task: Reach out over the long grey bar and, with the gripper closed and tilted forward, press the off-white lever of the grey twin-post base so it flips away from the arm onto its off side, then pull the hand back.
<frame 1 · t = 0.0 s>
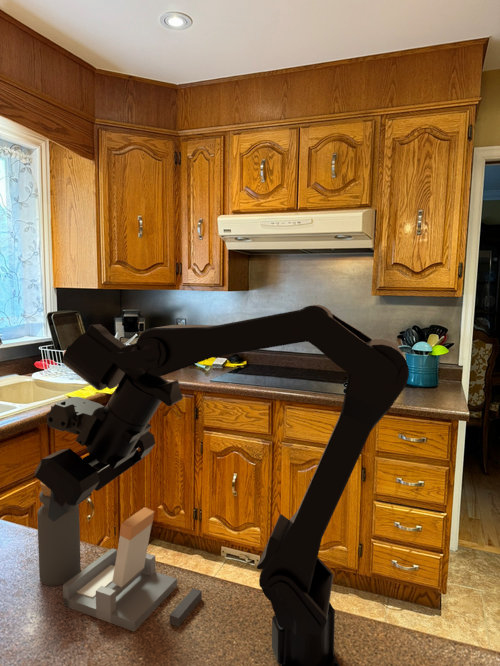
hand: (74, 502, 62), 15 cm above the countertop, tool tilted 35°, fingers open, 9 cm apart
bottle: (60, 575, 70), on the countertop
long grey bar: (186, 610, 62), on the countertop
grey twin-post base: (127, 597, 65), on the countertop
lever: (132, 551, 64), point 7 cm above the countertop, hinge at -12.0°
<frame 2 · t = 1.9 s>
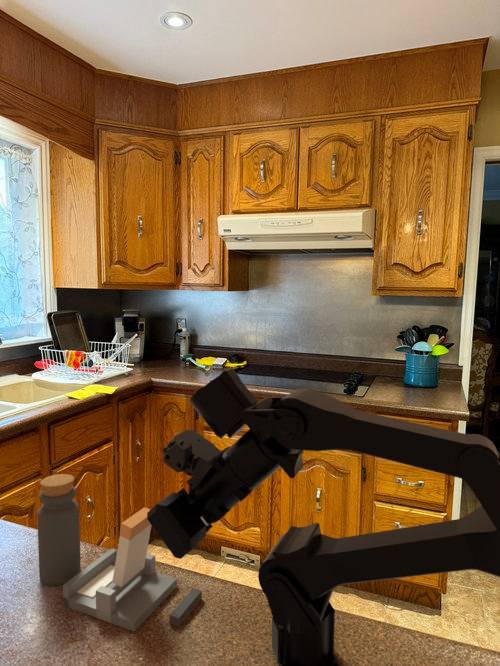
hand: (169, 532, 61), 11 cm above the countertop, tool tilted 45°, fingers closed
nothing on the countertop moved.
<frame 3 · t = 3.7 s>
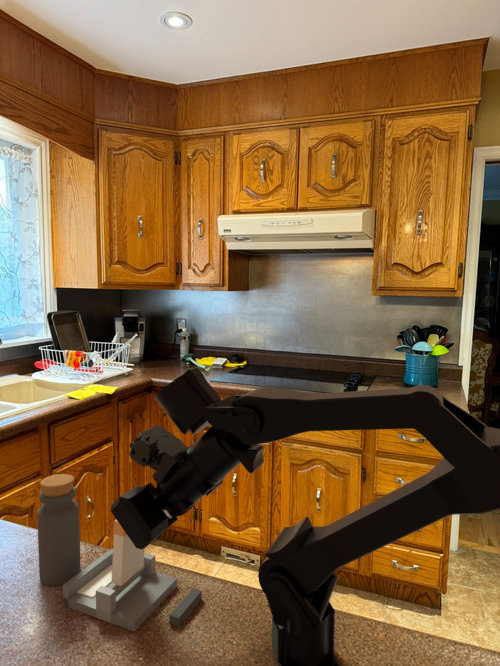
hand: (137, 525, 64), 11 cm above the countertop, tool tilted 45°, fingers closed, pressing on lever
lever: (129, 549, 64), point 7 cm above the countertop, hinge at -4.8°, touching gripper
everything else where it was.
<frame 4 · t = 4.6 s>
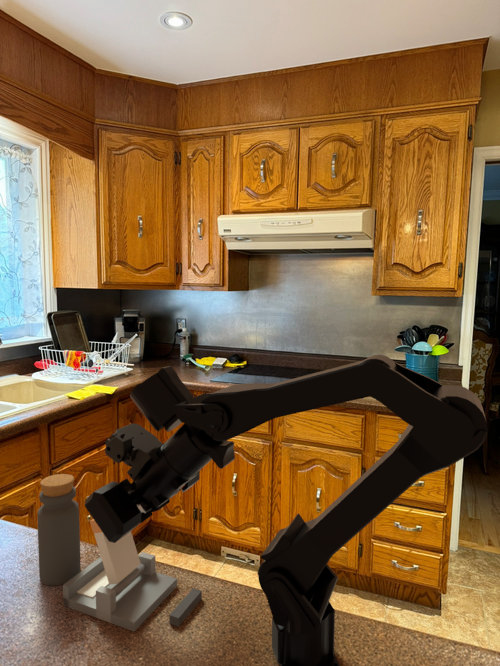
hand: (115, 520, 65), 11 cm above the countertop, tool tilted 45°, fingers closed, pressing on lever
lever: (117, 548, 65), point 7 cm above the countertop, hinge at 20.1°, touching gripper
everything else where it was.
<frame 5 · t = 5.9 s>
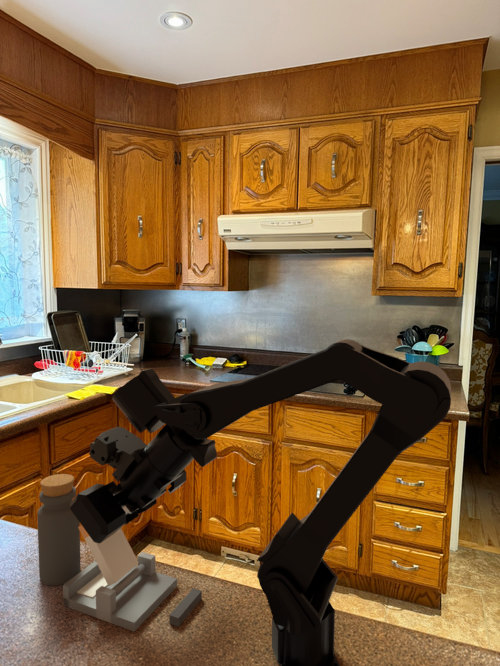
hand: (103, 523, 66), 10 cm above the countertop, tool tilted 45°, fingers closed, pressing on lever
lever: (111, 550, 66), point 6 cm above the countertop, hinge at 34.6°, touching gripper
everything else where it was.
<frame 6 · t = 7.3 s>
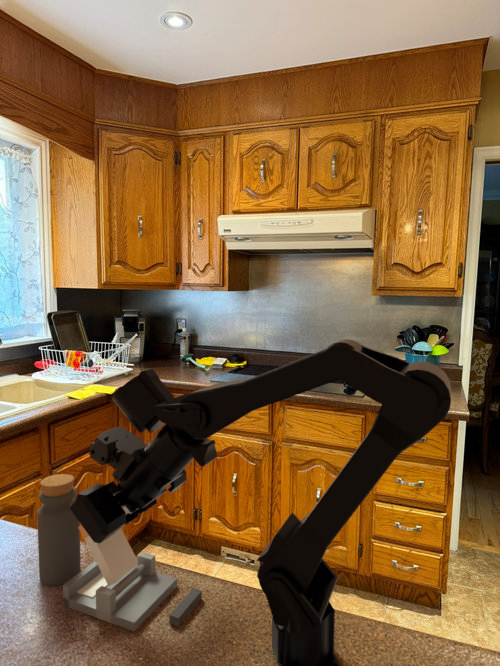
hand: (103, 523, 66), 10 cm above the countertop, tool tilted 45°, fingers closed, pressing on lever
lever: (111, 550, 66), point 6 cm above the countertop, hinge at 34.7°, touching gripper
everything else where it was.
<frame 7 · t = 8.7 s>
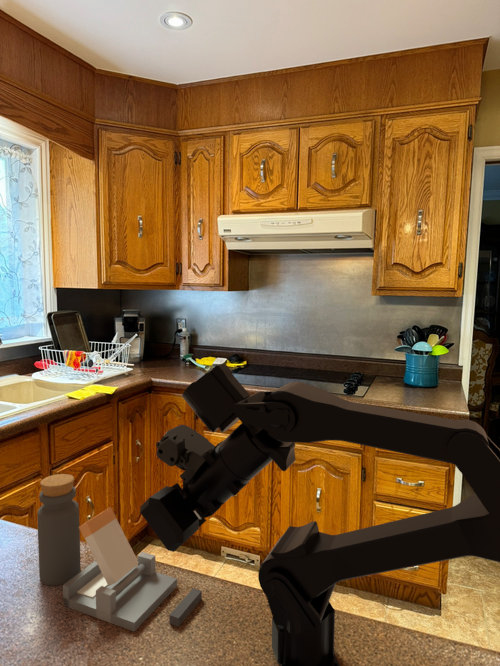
hand: (163, 527, 62), 12 cm above the countertop, tool tilted 45°, fingers closed
lever: (112, 550, 66), point 6 cm above the countertop, hinge at 34.1°
everything else where it was.
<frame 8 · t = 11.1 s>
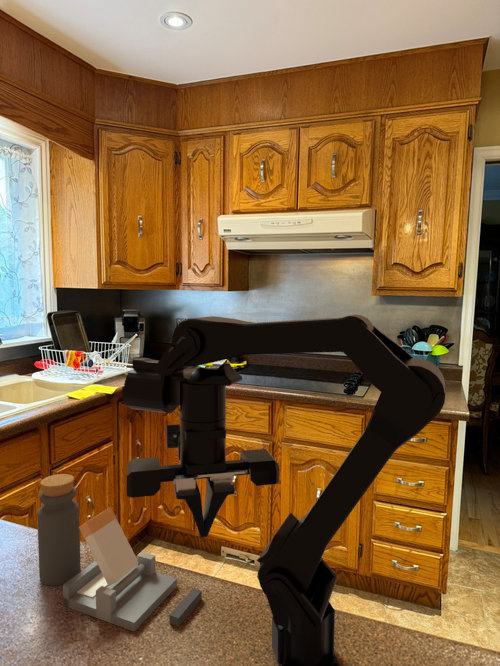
hand: (203, 535, 59), 12 cm above the countertop, tool pointing down, fingers closed
nothing on the countertop moved.
at the end: lever at +34° (first picture: -12°); bottle moved 0.2 cm from its start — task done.
